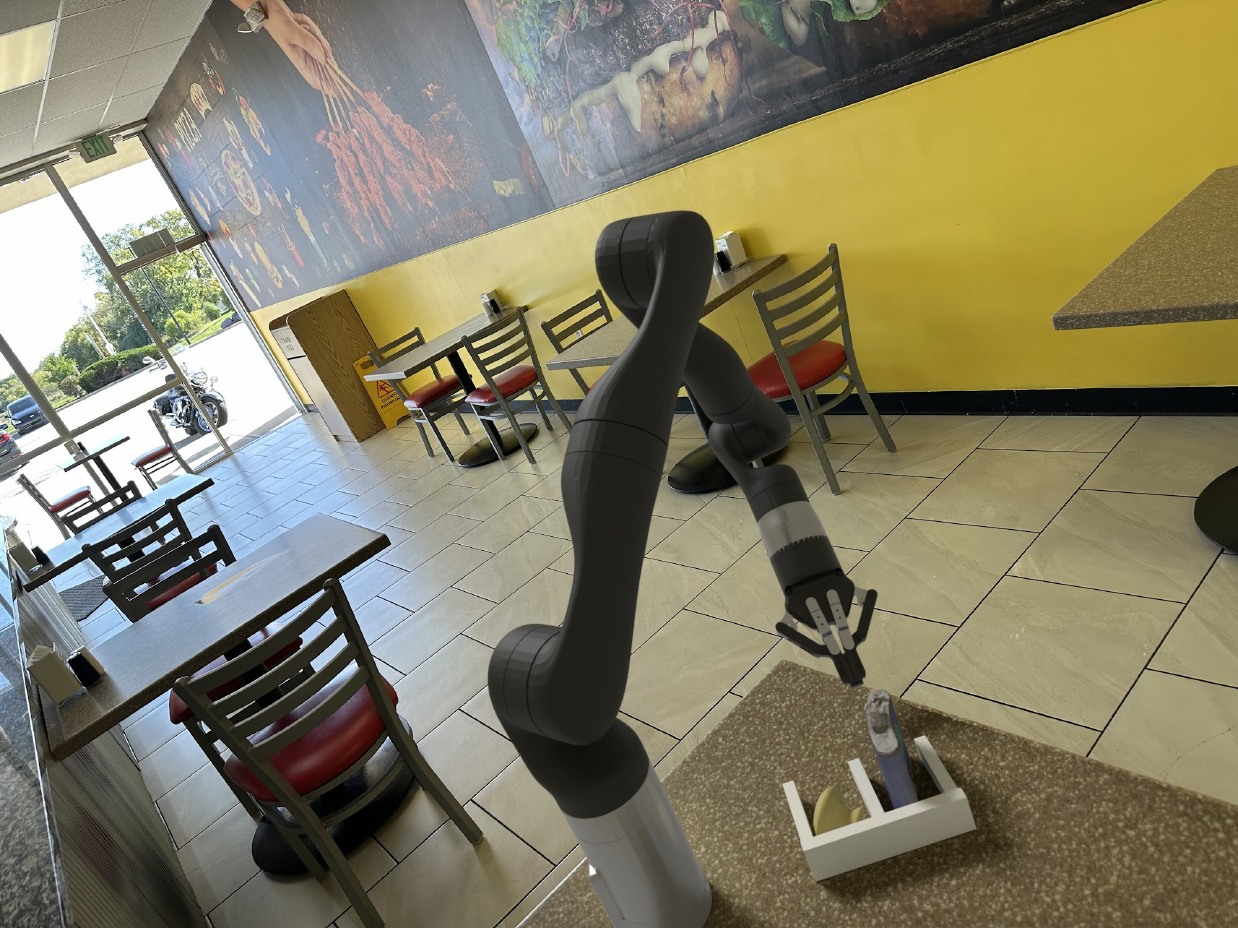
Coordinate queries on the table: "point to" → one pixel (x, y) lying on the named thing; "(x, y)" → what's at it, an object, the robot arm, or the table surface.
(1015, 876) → the table surface
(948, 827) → the rack
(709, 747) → the table surface
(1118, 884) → the table surface
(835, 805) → the knob
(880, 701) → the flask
